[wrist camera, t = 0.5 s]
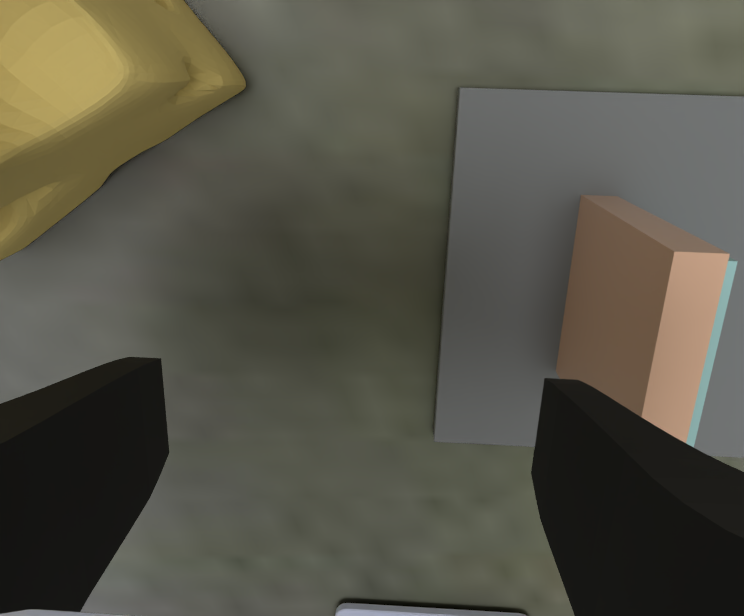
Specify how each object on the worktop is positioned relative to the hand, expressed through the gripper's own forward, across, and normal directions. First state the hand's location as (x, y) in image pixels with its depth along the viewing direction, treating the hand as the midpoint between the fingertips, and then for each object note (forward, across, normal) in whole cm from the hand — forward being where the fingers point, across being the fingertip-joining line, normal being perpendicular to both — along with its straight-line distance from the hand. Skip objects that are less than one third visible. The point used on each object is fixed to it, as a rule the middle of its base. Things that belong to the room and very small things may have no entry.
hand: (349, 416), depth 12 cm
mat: (+10, -9, 0) cm, 13 cm away
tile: (+9, -7, 0) cm, 12 cm away
